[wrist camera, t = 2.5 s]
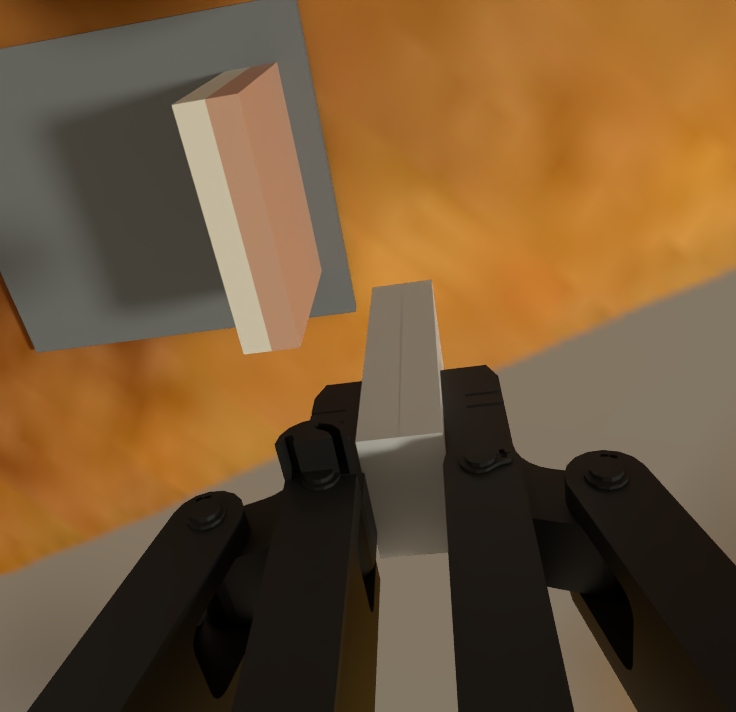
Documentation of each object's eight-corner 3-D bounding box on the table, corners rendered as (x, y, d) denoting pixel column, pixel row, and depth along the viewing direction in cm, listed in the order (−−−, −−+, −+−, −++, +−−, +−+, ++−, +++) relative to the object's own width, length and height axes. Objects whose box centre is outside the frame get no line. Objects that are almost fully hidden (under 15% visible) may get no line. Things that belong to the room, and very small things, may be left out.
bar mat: (-85, 65, 32) (-93, 66, 32) (295, -8, 30) (293, -7, 30) (41, 347, 40) (36, 352, 39) (356, 306, 37) (355, 311, 37)
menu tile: (224, 71, 31) (171, 104, 24) (277, 62, 31) (238, 93, 24) (276, 277, 36) (243, 354, 29) (321, 271, 36) (300, 347, 29)
